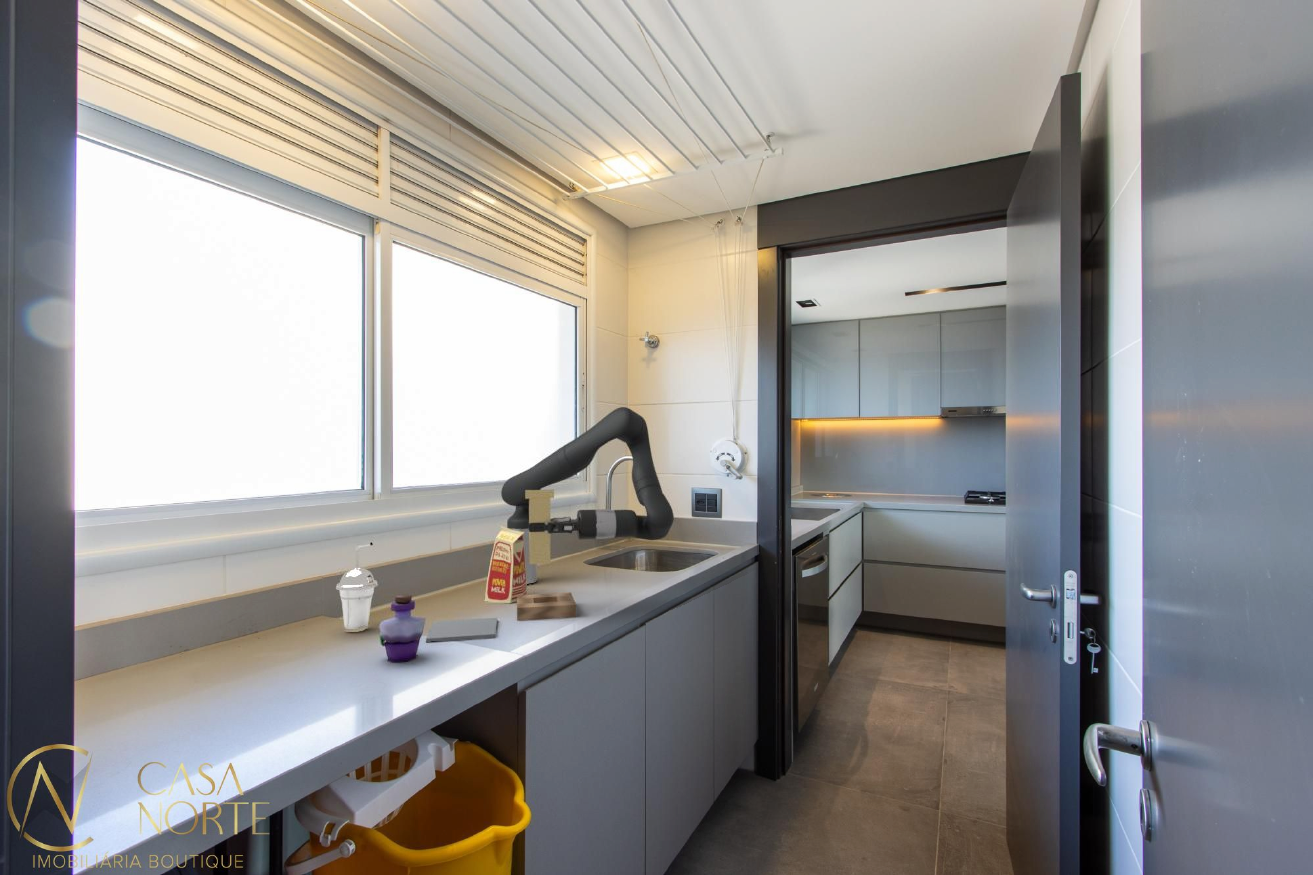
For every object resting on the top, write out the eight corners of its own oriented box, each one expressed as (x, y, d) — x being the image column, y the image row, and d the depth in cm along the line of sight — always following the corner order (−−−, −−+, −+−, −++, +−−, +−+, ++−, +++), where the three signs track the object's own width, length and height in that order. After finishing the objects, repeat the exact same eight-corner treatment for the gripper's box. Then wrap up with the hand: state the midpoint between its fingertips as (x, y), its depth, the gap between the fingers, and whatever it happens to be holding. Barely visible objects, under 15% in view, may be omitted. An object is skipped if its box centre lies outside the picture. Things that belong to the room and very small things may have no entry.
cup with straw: (374, 623, 140) (375, 537, 141) (380, 632, 133) (381, 541, 133) (333, 628, 136) (335, 540, 136) (336, 638, 128) (338, 544, 129)
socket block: (517, 620, 142) (517, 607, 142) (517, 606, 156) (517, 595, 156) (576, 617, 145) (576, 604, 145) (570, 603, 159) (571, 592, 159)
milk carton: (484, 601, 162) (485, 527, 162) (502, 594, 170) (503, 524, 171) (514, 604, 159) (514, 528, 160) (531, 596, 168) (531, 525, 168)
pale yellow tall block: (525, 564, 146) (525, 490, 147) (525, 561, 151) (525, 489, 152) (554, 563, 148) (554, 490, 148) (553, 559, 153) (553, 489, 153)
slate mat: (426, 642, 125) (426, 638, 125) (434, 624, 138) (434, 621, 139) (495, 637, 128) (495, 634, 128) (497, 620, 142) (497, 617, 142)
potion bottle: (373, 656, 116) (374, 594, 116) (419, 648, 121) (420, 588, 122) (383, 668, 109) (385, 602, 110) (432, 659, 114) (433, 596, 115)
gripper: (592, 507, 160) (527, 509, 156) (600, 511, 146) (529, 513, 142) (592, 535, 160) (527, 537, 156) (600, 542, 146) (529, 545, 142)
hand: (529, 526), depth 149 cm, fingers closed on pale yellow tall block, 5 cm apart
